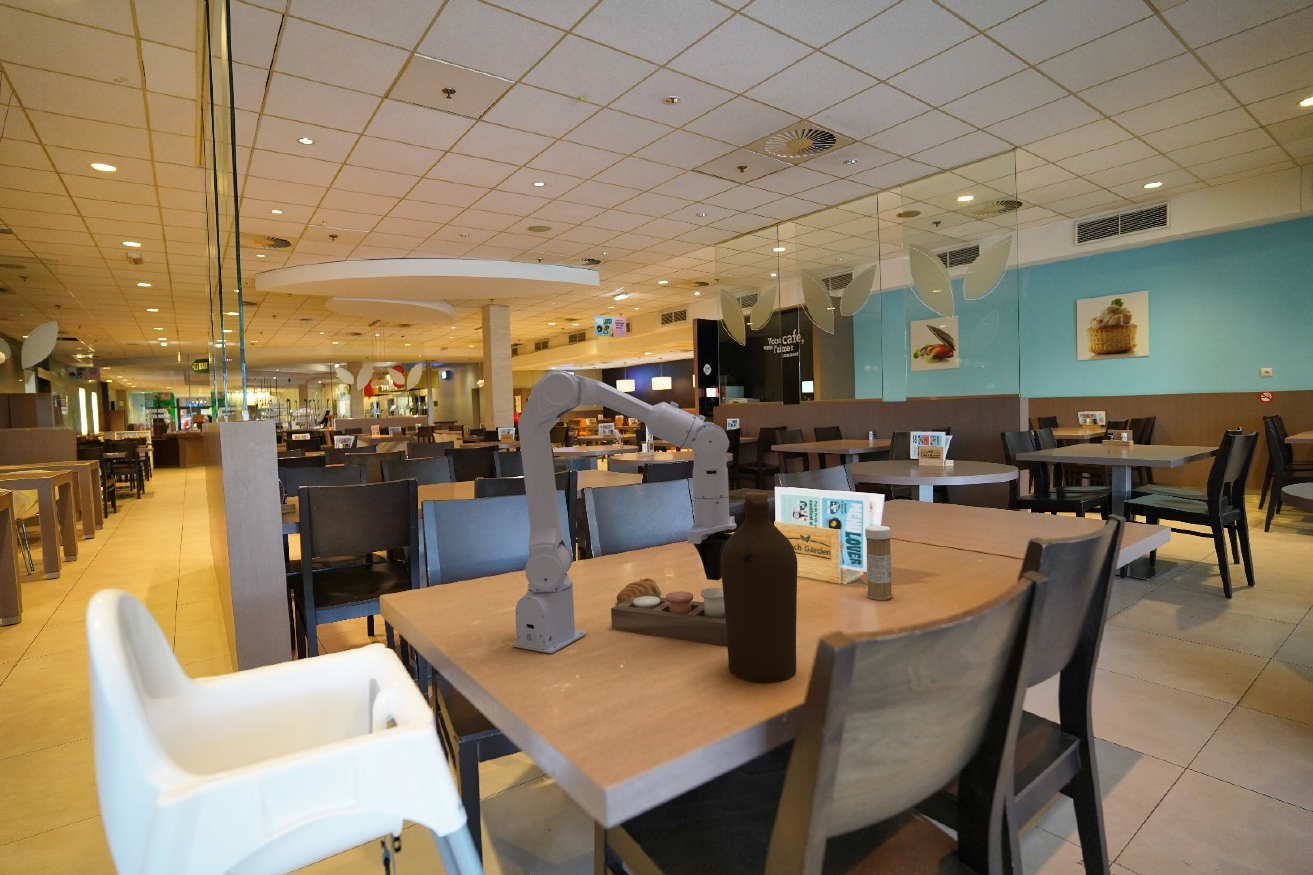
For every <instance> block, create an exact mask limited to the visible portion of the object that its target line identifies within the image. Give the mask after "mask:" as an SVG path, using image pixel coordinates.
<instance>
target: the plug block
mask: <svg viewBox="0 0 1313 875" xmlns="http://www.w3.org/2000/svg"><path fill="white" fill-rule="evenodd" d="M644 596H645V595H636V596H634V597H632V598H630V599H628V600H626V601H624V602H622V603H621V604H617V605H615V606H612V607H611V608H610V616H611V618H610V619H611V621H610V622H611V629H613V630H617V631H624V632H625V631H627V632H633V633H639V634H646V635H654V636H659V637H666V638H671V639H678V640H679V639H680V640H685V641H686V640H687V641H691V642H692V641H693V642H698V643H699V642H700V643H705V644H711V645H719V646H725V647H726V646H727V632H726V620H725V617H724V618H713V617H705V616H704V601H703V602H701V601H695V600H691V601H690V602H691V612H689V613H688V614H682V613H674V612H670V610H669V601H667V600H666V597H662V596H660V597H658V598H659V599H660V604H659V605H657V607H656V608H654V609H653V610H651V609H643V608H637V606H634V603H633V600H634V599H636V598H638V597H644ZM653 597H654V596H653Z"/></svg>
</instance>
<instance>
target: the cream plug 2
mask: <svg viewBox="0 0 1313 875" xmlns="http://www.w3.org/2000/svg"><path fill="white" fill-rule="evenodd" d="M700 597H701V598H703V602H704V616H705V617H713V618H724V617H725V608H724V596H723V587H707V588H704V589H702V590H700Z"/></svg>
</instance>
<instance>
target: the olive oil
mask: <svg viewBox="0 0 1313 875" xmlns="http://www.w3.org/2000/svg"><path fill="white" fill-rule="evenodd" d="M744 498H745V502H744V504H743V505H744V521H743V522H742V523H741V524H740V526H738V528H736V530H735V531H734V533H732V536H731V537H730V538H729V539H728V541H727V542H726V544H725V546H724V548H723V552H722V556H721V574H722V578H721V582H722V584H721V585H722V588H723V596H724V608H725V620H726V632H727V660H728V668H729V669H728V670H729V672H730V673H731V674H732V675H733V676H734V677H736V678H739V679H740V678H741V680H743V679H744V680H743V681H748V682H752V681H754V682H753V683H777V682H782V681H785V680H787V679H790V678H791V677H792V676H795V673H796V672H797V607H798V606H797V605H798V604H797V600H798V598H797V597H798V557H797V554H796V550H795V548H794V546H793V544H792V542H791V541H790V540H789V538H788V537H786V535H784V533H783V532H782V531H781V530H780V529H779V528H778V527H777V525H775V524H774V523H773V522H772V521H771V520H770V519H771V518H770V502H768V498H769V493H768V492H765V491H747V492H745V493H744Z"/></svg>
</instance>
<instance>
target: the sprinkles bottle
mask: <svg viewBox="0 0 1313 875" xmlns="http://www.w3.org/2000/svg"><path fill="white" fill-rule="evenodd" d="M864 530H865V531H864V532H865V533H864V534H865V535H864V537H865V538H866V581H867V595H866V596H867V597H868V598H869V599H871V600H876V601H888V600H891V599H893V595H892V554H891V538H892V531H891V528H890V527H889V526H886V525H869V526H866V527H865V529H864Z"/></svg>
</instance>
